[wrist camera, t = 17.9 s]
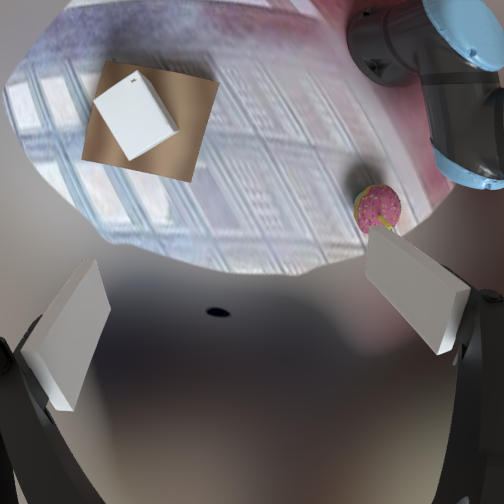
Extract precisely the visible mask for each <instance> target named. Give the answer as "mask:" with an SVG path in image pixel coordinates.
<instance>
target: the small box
mask: <svg viewBox="0 0 504 504" xmlns="http://www.w3.org/2000/svg"><path fill="white" fill-rule="evenodd" d="M93 103H94V104H95V106H96V108H97V110H98V111H99V113H100V115H101V116H102V118H103V120H104V121H105V123H106V125H107V126H108V128H109V130H110V131H111V133H112V135H113V136H114V138H115V139H116V141H117V143H118V144H119V146H120V148H121V149H122V151H123V152H124V154H125V156H126V157H127V159H128V160H129V161H130V160H132V159H134V158H136V157H138V156H140V155H142V154H143V153H145V152H147V151H148V150H150V149H152V148H153V147H155V146H157V145H158V144H160V143H161V142H163V141H164V140H166V139H168V138H169V137H171V136H172V135H174V134H175V133H177V132H179V131H180V130H179V128H178V127H177V125H176V123H175V122H174V120H173V118H172V117H171V115H170V113H169V112H168V110H167V108H166V107H165V105H164V103H163V102H162V100H161V98H160V97H159V95H158V93H157V92H156V90H155V88H154V87H153V85H152V83H151V82H150V81H149V80H148V79H147V78H146V77H145V76H144V75H142V74H141V73H140V72H139V71H138V70H137V71H135V72H133V73H132V74H130V75H129V76H127V77H126V78H124V79H123V80H121V81H120V82H118V83H117V84H115V85H114V86H112V87H111V88H110V89H108V90H107V91H105V92H104V93H103V94H101V95H100V96H98V97H97V98H96V99H94V100H93Z"/></svg>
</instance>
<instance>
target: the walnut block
mask: <svg viewBox="0 0 504 504" xmlns="http://www.w3.org/2000/svg"><path fill="white" fill-rule="evenodd" d="M137 70H138V71H139V72H140V73H141V74H142V75H144V76H145V77H146V78H147V79H148V80H149V81H150V82H151V83H152V85H153V87H154V88H155V90H156V92H157V93H158V95H159V97H160V98H161V100H162V102H163V103H164V105H165V107H166V108H167V110H168V112H169V113H170V115H171V117H172V118H173V120H174V122H175V123H176V125H177V127H178V128H179V130H180V131H179V132H177V133H175V134H174V135H172V136H171V137H169V138H168V139H166V140H164V141H163V142H161V143H160V144H158V145H157V146H155V147H153V148H152V149H150V150H148V151H147V152H145V153H143V154H142V155H140V156H138V157H136V158H134V159H132V160H130V161H129V160H128V159H127V157H126V156H125V154H124V152H123V151H122V149H121V148H120V146H119V144H118V143H117V141H116V139H115V138H114V136H113V135H112V133H111V131H110V130H109V128H108V126H107V125H106V123H105V121H104V120H103V118H102V116H101V115H100V113H99V111H98V110H97V108H96V106H95V104H93V108H92V112H91V116H90V120H89V124H88V129H87V133H86V138H85V143H84V148H83V153H82V159H81V160H86V161H91V162H96V163H101V164H107V165H112V166H117V167H122V168H126V169H131V170H136V171H141V172H145V173H150V174H155V175H159V176H164V177H168V178H172V179H177V180H181V181H185V182H190V183H191V180H192V176H193V172H194V168H195V165H196V161H197V157H198V154H199V150H200V146H201V143H202V139H203V136H204V132H205V129H206V126H207V122H208V119H209V115H210V112H211V109H212V106H213V102H214V99H215V96H216V93H217V90H218V87H219V82H215V81H211V80H207V79H203V78H199V77H194V76H190V75H185V74H181V73H176V72H171V71H166V70H160V69H155V68H149V67H143V66H137V65H130V64H123V63H115V62H107V61H106V62H105V65H104V69H103V72H102V75H101V78H100V82H99V85H98V89H97V92H96V96H95V99H96V98H97V97H98V96H100V95H101V94H103V93H104V92H105V91H107V90H108V89H110V88H111V87H112V86H114V85H115V84H117V83H118V82H120V81H121V80H123V79H124V78H126V77H127V76H129V75H130V74H132V73H133V72H135V71H137Z"/></svg>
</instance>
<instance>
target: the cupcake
mask: <svg viewBox="0 0 504 504" xmlns="http://www.w3.org/2000/svg"><path fill="white" fill-rule="evenodd" d="M400 213H401V204H400V200H399V197H398V195H397V194H396V192H395V191H393V189H392V188H391V187H389V186H388V185H381V184H379V185H370V186H368V187H367V188H366V189H365V190H364V191H362V192H361V193H359V194H358V195H357V197H356V198H355V201H354V218H355V220H356V222H357V225H358V226H359V228H360V230H361V231H362V232H364V233H367V234H369V226H375V225H384V226H385V227H387V228H388V229H390V230H391V231H392V228H393V227H394V226H395V225H396V223H397V222H398V221H399V218H400V217H399V216H400Z"/></svg>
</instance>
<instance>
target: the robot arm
mask: <svg viewBox="0 0 504 504" xmlns="http://www.w3.org/2000/svg"><path fill="white" fill-rule="evenodd" d="M347 43H348V48H349V51H350V54H351V56H352V58H353V60H354V62H355V63H356V65H357V66H358V68H359V69H360V70H361V71H362V72H363V73H364V74H365V75H366V76H367V77H368V78H369V79H371V80H372V81H374V82H375V83H377V84H380V85H382V86H386V87H392V88H396V87H405V86H409V85H411V84H413V83H415V82H416V81H418V80H419V79H420V81H421V87H422V91H423V96H424V101H425V106H426V111H427V116H428V122H429V128H430V135H431V137H430V143H431V145H432V147H433V153H434V159H435V163H436V166H437V168H438V169H439V170H440V172H441V173H442V174H443V175H444V176H445V177H447V178H448V179H450V180H452V181H454V182H456V183H459V184H461V185H465V186H468V187H472V188H477V189H484V188H488V189H490V190H495V189H501V188H504V88H501V86H500V81H499V76H498V70H500V69H501V68H502V67H504V32H503V29H502V27H501V25H500V23H499V22H498V20H497V18H496V16H495V15H494V14H493V12H492V11H491V10H490V8H489V7H488V6H487V5H485V4H484V2H483V1H482V0H407V1H404V2H402V3H400V4H398V5H396V6H373V7H369V8H366V9H364V10H363V11H361V12H359V13H358V14H356V15H355V16H354V17H353V19H352V20H351V22H350V24H349V26H348V31H347ZM366 277H367V278H368V279H369V280H370V281H371V282H372V283H373V284H374V286H375V287H376V288H377V289H378V290H379V291H380V292H381V293H382V294H383V295H384V296H385V297H386V298H387V299H388V301H389V302H390V303H391V304H392V305H393V306H394V307H395V308H396V309H397V310H398V311H399V312H400V314H401V315H402V316H403V317H404V318H405V319H406V320H407V321H408V322H409V324H410V325H411V326H412V327H413V328H414V329H415V330H416V332H417V333H418V334H419V335H420V336H421V337H422V338H423V339H424V341H425V342H426V343H427V344H428V345H429V346H430V347H431V349H432V350H433V351H434V352H435V353H436V354H437V355H439V354H442V353H444V352H447V351H449V350H451V349H452V346H453V344H454V341H455V338H456V337H457V338H458V339H459V340H460V341H461V344H460V347H459V349H458V352H457V355H456V357H455V360H454V362H453V365H455V364H456V362H457V361H458V367H457V380H456V389H455V399H454V408H453V414H452V421H451V427H450V433H449V439H448V444H447V449H446V454H445V459H444V463H443V468H442V471H441V476H440V479H439V483H438V487H437V491H436V494H435V497H434V500H433V502H432V504H504V297H503V296H502V295H501V294H500V293H498V292H496V291H493V290H490V289H483V290H480V291H478V290H477V289H475V288H474V287H473V286H471V285H470V284H469V283H467V282H466V281H465V280H464V279H462V278H460V277H459V276H458V275H457V274H456V273H455V274H454V272H453V271H451V270H450V269H449V268H447V267H446V266H443V265H441V264H439V263H437V262H436V261H434V260H433V259H432V258H430V257H428V256H427V255H426V254H425V253H423V252H422V251H420V250H419V249H418V248H416V247H415V246H413V245H412V244H410V243H409V242H407V241H406V240H404V239H403V238H402V237H400V236H399V235H397V234H396V233H394V232H393V231H391V230H390V229H388V228H387V227H385V226H384V225H375V226H369V240H368V253H367V265H366ZM110 310H111V308H110V305H109V302H108V299H107V296H106V293H105V290H104V286H103V283H102V279H101V276H100V273H99V269H98V265H97V262H96V259H93V260H85V261H81V263H80V264H79V265H78V267H77V268H76V269H75V271H74V272H73V273H72V275H71V276H70V277H69V279H68V280H67V281H66V283H65V284H64V286H63V287H62V288H61V290H60V291H59V293H58V294H57V295H56V297H55V298H54V300H53V301H52V303H51V304H50V305H49V307H48V309H47V310H46V311H45V313H44V314H43V315H41V316H40V317H38V318H37V319H36V320H35V321H34V322H33V323H32V324H31V326H30V327H29V329H28V332H26V333H25V335H24V338H22V340H21V341H20V343H19V344H18V346H17V347H16V349H15V351H14V352H13V353H12V351H11V350H10V348H9V346H8V344H7V342H6V340H5V339H4V338H3V337H0V504H19V503H18V497H17V492H16V486H15V480H14V473H13V470H14V472H15V475H16V477H17V480H18V482H19V485H20V487H21V489H22V492H23V494H24V496H25V498H26V500H27V503H28V504H106V503H105V502H104V501H103V499H102V498H101V497H100V495H99V494H98V492H97V491H96V489H95V488H94V487H93V485H92V484H91V482H90V481H89V479H88V478H87V476H86V475H85V473H84V472H83V470H82V469H81V467H80V465H79V464H78V463H77V461H76V459H75V458H74V456H73V454H72V453H71V451H70V449H69V447H68V446H67V444H66V442H65V440H64V438H63V437H62V435H61V433H60V431H59V429H58V427H57V426H56V424H55V422H54V420H53V418H52V416H51V414H50V412H49V411H48V409H47V408H46V405H47V402H48V400H50V401H51V403H52V404H53V406H54V407H55V409H56V410H64V411H74V408H75V405H76V402H77V399H78V396H79V393H80V390H81V387H82V384H83V381H84V378H85V375H86V372H87V369H88V367H89V364H90V361H91V358H92V355H93V353H94V350H95V348H96V345H97V342H98V339H99V337H100V335H101V332H102V329H103V327H104V325H105V322H106V320H107V317H108V315H109V312H110Z"/></svg>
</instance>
